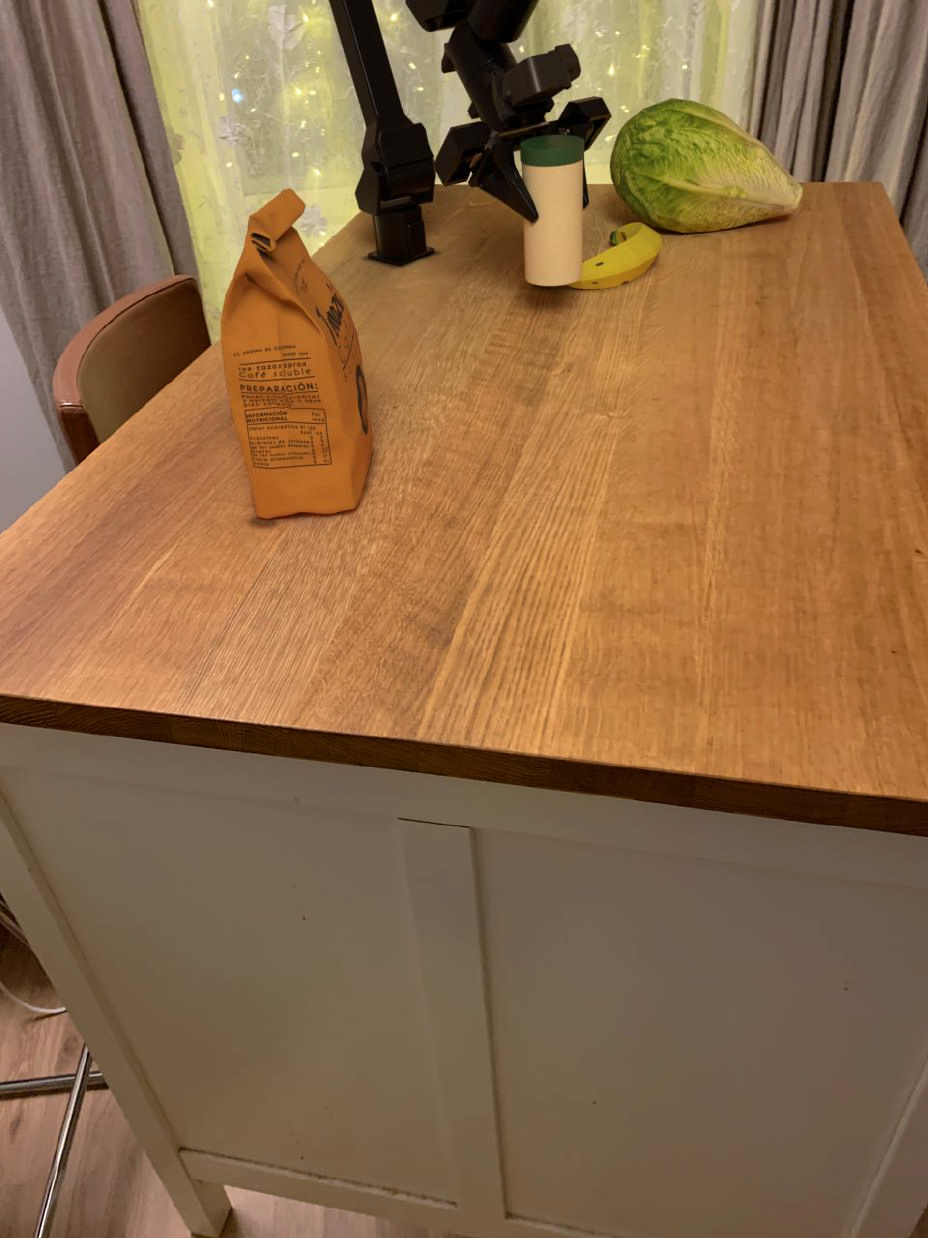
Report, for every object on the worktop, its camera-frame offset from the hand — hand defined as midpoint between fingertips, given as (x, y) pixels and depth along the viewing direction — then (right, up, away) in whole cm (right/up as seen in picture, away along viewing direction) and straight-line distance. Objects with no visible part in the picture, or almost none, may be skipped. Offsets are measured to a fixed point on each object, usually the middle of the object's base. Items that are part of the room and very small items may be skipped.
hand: (561, 213), depth 98 cm
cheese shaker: (0, -5, +5) cm, 7 cm away
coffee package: (-21, -30, -17) cm, 41 cm away
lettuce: (+22, +11, +31) cm, 39 cm away
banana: (+7, +2, +21) cm, 22 cm away
